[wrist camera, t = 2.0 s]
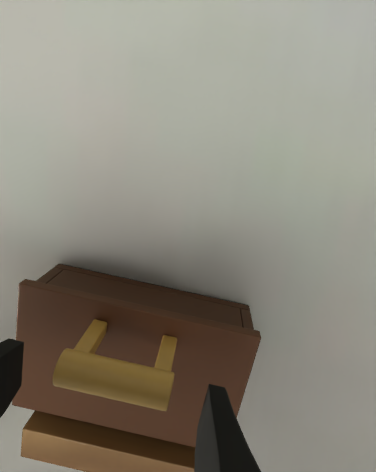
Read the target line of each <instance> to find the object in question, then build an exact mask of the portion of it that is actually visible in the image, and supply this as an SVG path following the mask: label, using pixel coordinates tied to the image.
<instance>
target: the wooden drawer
mask: <svg viewBox="0 0 376 472" xmlns="http://www.w3.org/2000/svg"><path fill="white" fill-rule="evenodd" d="M37 282H41V283H46V284H50V285H55V286H59V287H64V288H68V289H72V290H77V291H81V292H86V293H90V294H95V295H99V296H104V297H108V298H113V299H117V300H122V301H126V302H131V303H135V304H140V305H144V306H149V307H153V308H158V309H162V310H167V311H171V312H176V313H180V314H185V315H189V316H194V317H198V318H203V319H207V320H212V321H216V322H221V323H225V324H230V325H234V326H239V327H243V328H248V329H252V330H254V328H253V324H252V319H251V314H250V309H249V306H248V305H244V304H239V303H235V302H230V301H226V300H221V299H216V298H212V297H207V296H203V295H198V294H194V293H189V292H185V291H180V290H176V289H171V288H167V287H162V286H158V285H153V284H149V283H144V282H140V281H135V280H130V279H126V278H121V277H117V276H112V275H108V274H103V273H99V272H94V271H90V270H85V269H81V268H76V267H72V266H67V265H63V264H58V265H56V266H55V267H54V268H53V269H51V270H50V271H49V272H47V273H46V274H45V275H43V276H42V277H41V278H40V279H38V280H37Z"/></svg>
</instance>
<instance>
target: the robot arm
mask: <svg viewBox="0 0 376 472" xmlns="http://www.w3.org/2000/svg"><path fill="white" fill-rule="evenodd" d="M23 351H24V342H22V341H17V340H13V339H7V340H5V341H3V342H0V417H1V416H2V415H3V414H4V412H5V411H6V409H7V408H8V406H9V405H10V403H11V402H12V400H13V398H14V397H15V395H16V394H17V392H18V390H19V389H20V387H21V384H22V368H23ZM194 472H261V471H260V469H259V467H258V465H257V463H256V461H255V459H254V457H253V455H252V453H251V451H250V449H249V446H248V444H247V442H246V440H245V438H244V435H243V433H242V431H241V428H240V426H239V424H238V421H237V419H236V416H235V413H234V411H233V408H232V405H231V402H230V399H229V396H228V393H227V390H226V389H225V387H221V386H216V385H212V384H209V385H208V389H207V393H206V396H205V400H204V404H203V408H202V411H201V415H200V419H199V423H198V427H197V437H196V446H195V468H194Z"/></svg>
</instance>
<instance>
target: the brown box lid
mask: <svg viewBox="0 0 376 472" xmlns="http://www.w3.org/2000/svg"><path fill="white" fill-rule="evenodd" d="M16 340H17V341H22V342H24V351H23V368H22V384H21V387H20V389H19V390H18V392H17V394H16V395H15V397H14V398H13V400H12V405H14V406H19V407H23V408H27V409H32V410H36V411H40V412H45V413H49V414H53V415H58V416H62V417H66V418H70V419H75V420H79V421H83V422H88V423H92V424H96V425H101V426H105V427H109V428H114V429H118V430H122V431H127V432H131V433H135V434H140V435H144V436H148V437H152V438H157V439H161V440H165V441H170V442H174V443H178V444H183V445H187V446H191V447H195V446H196V437H197V427H198V423H199V419H200V415H201V411H202V408H203V404H204V400H205V396H206V393H207V389H208V385H209V384H212V385H216V386H221V387H225V389H226V390H227V393H228V396H229V399H230V402H231V405H232V408H233V411H234V413H235V416H236V418H237V414H238V411H239V408H240V405H241V401H242V398H243V395H244V392H245V388H246V385H247V382H248V379H249V375H250V372H251V369H252V366H253V362H254V359H255V356H256V353H257V349H258V346H259V343H260V340H261V336H260V332H259V331H257V330H252V329H248V328H243V327H239V326H234V325H230V324H225V323H221V322H216V321H212V320H207V319H203V318H198V317H194V316H189V315H185V314H180V313H176V312H171V311H167V310H162V309H158V308H153V307H149V306H144V305H140V304H135V303H131V302H126V301H122V300H117V299H113V298H108V297H104V296H99V295H95V294H90V293H86V292H81V291H77V290H72V289H68V288H64V287H59V286H55V285H50V284H46V283H41V282H37V281H32V280H28V279H25V280H23V281H22V282H20V283H19V288H18V307H17V325H16Z"/></svg>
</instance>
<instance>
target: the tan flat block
mask: <svg viewBox="0 0 376 472" xmlns="http://www.w3.org/2000/svg"><path fill="white" fill-rule="evenodd" d="M21 456H22V457H26V458H30V459H34V460H38V461H43V462H47V463H51V464H55V465H60V466H64V467H68V468H72V469H77V470H81V471H85V472H194V468H195V447H191V446H187V445H183V444H178V443H174V442H170V441H165V440H161V439H157V438H152V437H148V436H144V435H140V434H135V433H131V432H127V431H122V430H118V429H114V428H109V427H105V426H101V425H96V424H92V423H88V422H83V421H79V420H75V419H70V418H66V417H62V416H58V415H53V414H49V413H45V412H40V411H36V410H35V412H34V413H33V414H32V416H31V417H30V419H29V420H28V422H27V423H26V425H25V426H24V428H23V432H22V446H21Z"/></svg>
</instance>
